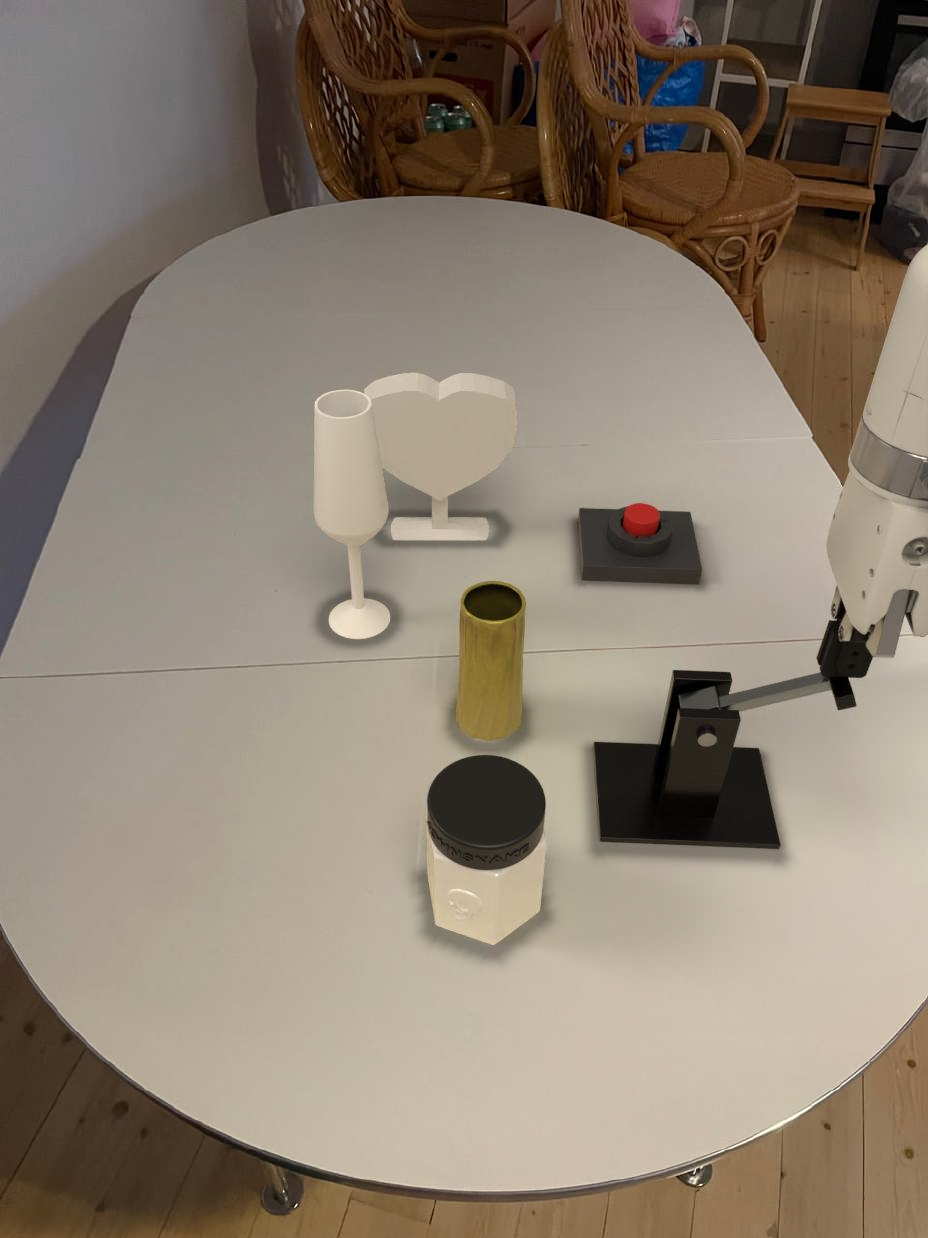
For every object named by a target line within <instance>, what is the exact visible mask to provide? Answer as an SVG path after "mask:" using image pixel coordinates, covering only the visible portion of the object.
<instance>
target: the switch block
mask: <svg viewBox="0 0 928 1238" xmlns="http://www.w3.org/2000/svg"><path fill="white" fill-rule="evenodd" d="M628 506H629V505H627V506H624V507H621V508H594V507H593V508H592V507H579V508H578V517H577V529H578V531H577V532H578V544H579V545H578V549H579V562H580V575H581V582H583V581H584V582H586V581H587V582H611V583H638V584H663V585H664V584H667V585H694V586H697V585H698V586H699V585H700V582H701V578H702V577H701V576H702V572H703V567H702V562H701V558H700V553H699V548H698V543H697V537H696V532H695V528H694V523H693V518H692V513H691V511H682V510H681V511H680V510H659V509H657V510H658V511H659V513H660V519H659V525H658V530H657V532H656V533H655V534H653V535H650V536H636V535H633V534H631V533H628V532H626V531H625V529H624V527H623V520H624V513H625V509H626V508H627V507H628Z"/></svg>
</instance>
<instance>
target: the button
mask: <svg viewBox="0 0 928 1238" xmlns="http://www.w3.org/2000/svg"><path fill="white" fill-rule="evenodd" d="M627 506H628V507H627ZM627 506H626V507H627V508H626V509H625V513H624V520H623V527H624V529H625V531H626V532H628V533H631V534H633V535H636V536H650V535H653V534H655V533H656V532H657V530H658V525H659V519H660V513H659V511H660V510H659V509H657V508H656V507H655V506H654V505H651V504H648V503H643V502H642V503H641V502H638V503H637V502H636V503H632V504H630V505H627ZM658 510H659V511H658Z"/></svg>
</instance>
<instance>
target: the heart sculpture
mask: <svg viewBox="0 0 928 1238" xmlns="http://www.w3.org/2000/svg"><path fill="white" fill-rule="evenodd" d="M363 393H364V394H366V395H367V396H368V397H369V398H370V399H371V402H372V408H373V414H374V421H375V427H376V433H377V439H378V446H379V452H380V458H381V464H382V470H385V471H386V472H388V473H389V474H391V475H392V476H393V477H395V478H396V479H398V480H400V481H401V483H404V484H407V485H408V486H410V487H412V488H414V489H416V490H418V491H421V492H422V493H425V495H429V496H430V497H431V516H426V517H425V516H395V517H394V518H393V519H392V522H391V524H390V528H389V529H390V534H391V538H392V540H393V541H487V539H488V537H489V535H490V524H489V522H488V519H487V518H486V517H483V516H482V517H477V516H475V517H473V516H472V517H471V516H469V517H466V516H465V517H464V516H460V517H459V516H457V517H456V516H455V517H453V516H449V511H448V510H449V496H452V495H453V494H455V493H458V492H459V491H461V490H463V489H465V488H467V487H469V486H471V485H473V484H475V483H477V482H478V481H480V480H481V479H483V478H485V477H486V476H487V475H489V474H490V473H492V472H494V471H495V470H496V469H497V468H499V466H500V465H501V464H502V463H503V461H504V460H505V459H506V457H507V456H508V455H509V453H510V452H511V451H512V450H513V448H514V444H515V440H516V437H517V431H518V427H519V420H518V408H517V401H516V393H515V389H514V388H513V387H512V386H511V385H510V384H509V383H507V382H505V380H502V379H498V378H495V377H492V376H489V375H485V374H484V375H483V374H478V373H474V372H472V373H471V372H459V373H456V374H452V375H450V376H448V377H447V378H445V379H442V380H441V381H438V380H435V379H434V378H432V377H431V376H429V375H426V374H424V373H421V372H403V373H398V374H393V375H388V376H385V377H382V378H378V379H376V380H373V381H372V382H371V383H370V384H368V385H367V386H366V387H365V388H364V391H363Z"/></svg>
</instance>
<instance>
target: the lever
mask: <svg viewBox="0 0 928 1238" xmlns="http://www.w3.org/2000/svg"><path fill="white" fill-rule="evenodd" d="M851 684H852V683H851V681H850V678H845V677H824V676H822V675H821V672H820V671H819V672H814V673H812V674H808V675H804V676H798V677H795V678H789V679H786V680H781V681H778V682H773V683H770V684H766V685H762V686H758V687H754V688H753V687H752V688H749V689H745V690H742V691H741V690H740V691H736V692H732V693H729V694H728V695H724V696H720V697H719V696H718V693H717V691H716V688H715V686H712V687H708V688H704V689H700V690H696V691H691V692H687V693H683V694H679V702H680V708H693V709H719V710H739V713H740V712H744V711H749V710H752V709H757V708H761V707H766V706H770V705H773V704H778V703H783V702H787V701H790V700H795V699H799V698H803V697H809V696H811V695H816V694H821V693H825V692H828V691H831V693H832V697H833V700H834V702H835V706H836V709H837V711H844V710H849V709H852V708H856V707H858V706H857V705H858V704H857V702H856V697H855V693H854V690H853V687H852V685H851Z"/></svg>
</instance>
